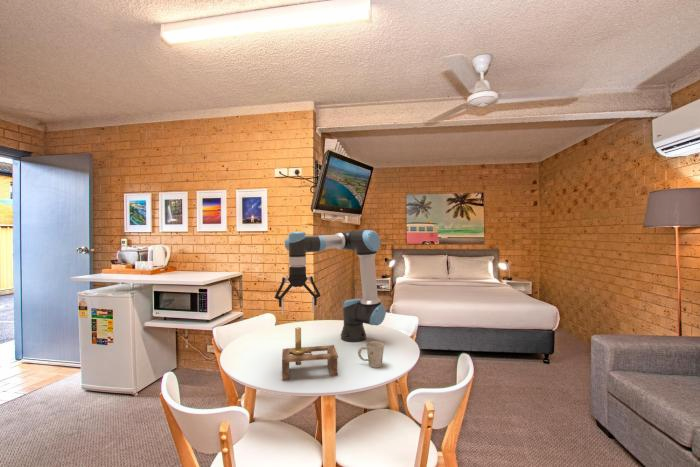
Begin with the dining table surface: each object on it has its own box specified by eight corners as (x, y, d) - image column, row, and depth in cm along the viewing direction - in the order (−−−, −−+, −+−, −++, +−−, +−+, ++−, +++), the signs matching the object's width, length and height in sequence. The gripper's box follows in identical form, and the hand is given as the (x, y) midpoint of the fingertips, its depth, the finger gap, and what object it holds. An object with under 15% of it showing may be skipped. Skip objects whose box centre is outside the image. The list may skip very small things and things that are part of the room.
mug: (383, 369, 148) (383, 347, 148) (356, 367, 151) (356, 345, 151) (385, 362, 156) (384, 341, 157) (359, 360, 159) (359, 340, 159)
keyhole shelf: (333, 363, 155) (333, 345, 156) (338, 376, 142) (338, 355, 142) (282, 368, 151) (282, 348, 151) (282, 381, 137) (282, 359, 137)
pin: (304, 361, 149) (304, 326, 149) (305, 366, 143) (305, 329, 143) (291, 362, 148) (291, 326, 148) (291, 367, 142) (291, 330, 142)
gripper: (324, 264, 152) (324, 310, 152) (269, 266, 147) (269, 313, 147) (326, 266, 145) (326, 313, 144) (268, 267, 140) (268, 317, 140)
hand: (298, 313), depth 146 cm, fingers open, 13 cm apart
